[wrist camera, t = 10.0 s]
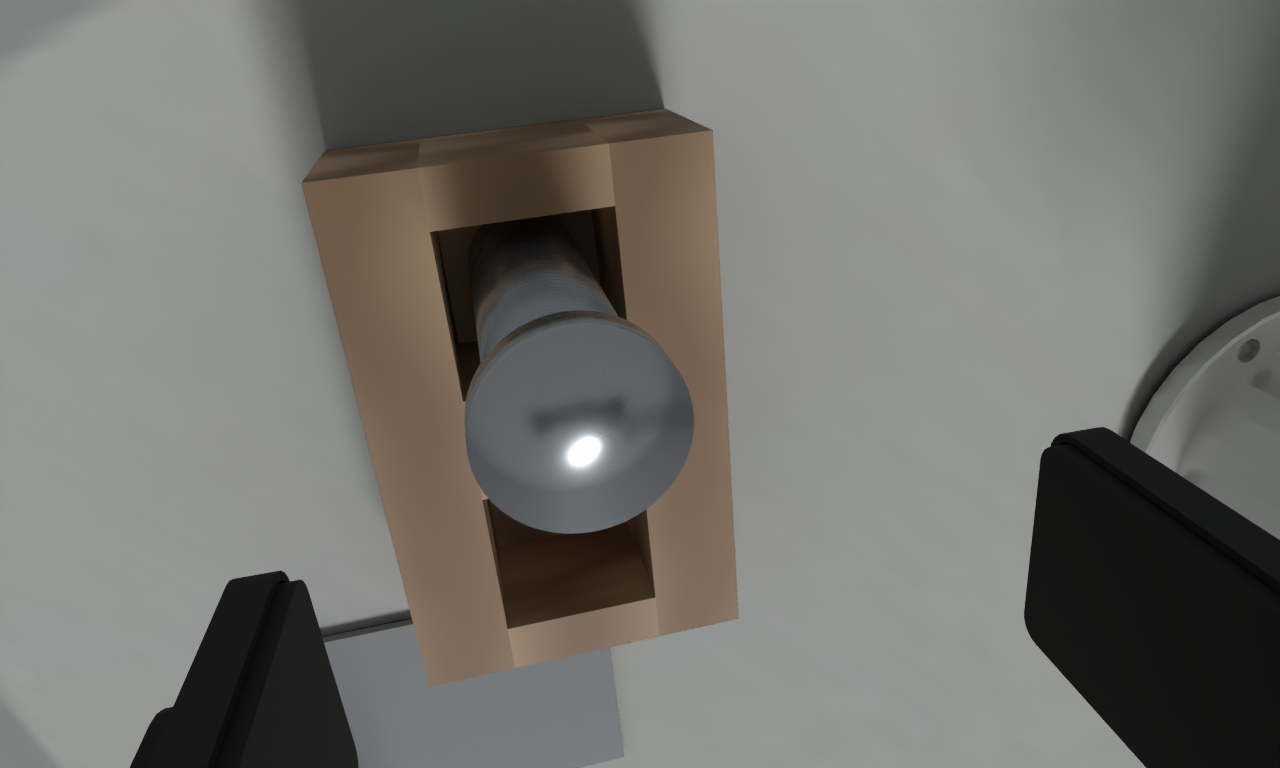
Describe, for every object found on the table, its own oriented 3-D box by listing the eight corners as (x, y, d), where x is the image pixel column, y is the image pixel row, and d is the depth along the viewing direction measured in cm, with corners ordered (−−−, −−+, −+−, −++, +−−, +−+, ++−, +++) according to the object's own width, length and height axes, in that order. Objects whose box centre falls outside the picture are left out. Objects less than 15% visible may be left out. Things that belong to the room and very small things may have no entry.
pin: (582, 184, 23) (687, 309, 14) (597, 315, 25) (700, 510, 15) (440, 202, 23) (446, 347, 13) (465, 336, 24) (486, 552, 15)
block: (665, 108, 24) (712, 130, 20) (696, 534, 29) (738, 618, 25) (325, 150, 22) (301, 182, 18) (430, 589, 28) (429, 687, 24)
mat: (599, 579, 29) (601, 584, 29) (622, 750, 33) (624, 756, 32) (294, 643, 28) (292, 649, 28) (351, 816, 31) (351, 823, 31)
